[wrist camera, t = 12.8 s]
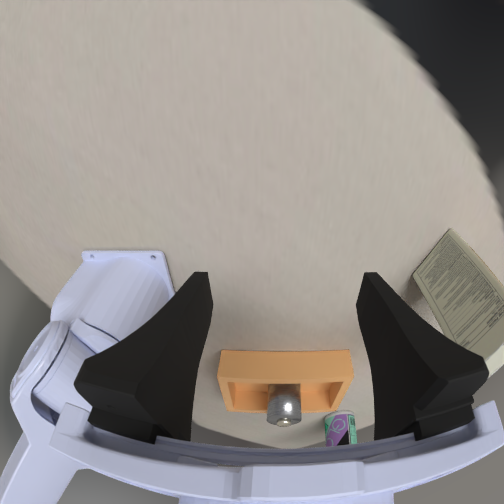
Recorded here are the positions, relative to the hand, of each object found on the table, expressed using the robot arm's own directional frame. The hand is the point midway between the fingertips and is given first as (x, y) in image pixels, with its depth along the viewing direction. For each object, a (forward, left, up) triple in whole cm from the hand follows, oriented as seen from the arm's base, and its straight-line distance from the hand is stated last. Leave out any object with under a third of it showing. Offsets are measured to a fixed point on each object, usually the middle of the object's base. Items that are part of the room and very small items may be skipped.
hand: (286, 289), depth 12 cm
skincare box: (+16, -5, -10) cm, 19 cm away
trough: (+1, -23, -9) cm, 25 cm away
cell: (+1, -23, -9) cm, 24 cm away
